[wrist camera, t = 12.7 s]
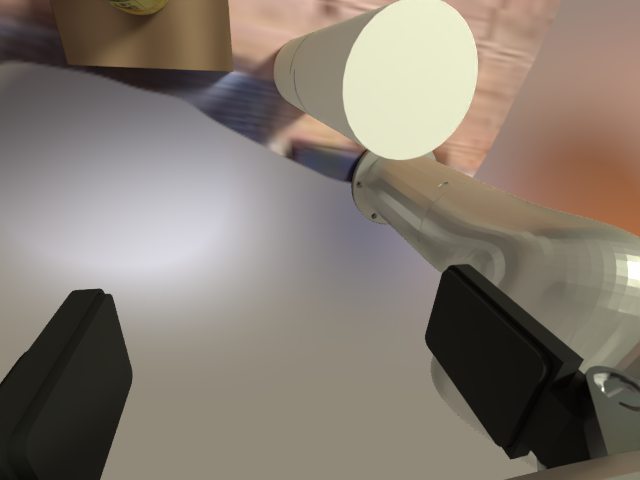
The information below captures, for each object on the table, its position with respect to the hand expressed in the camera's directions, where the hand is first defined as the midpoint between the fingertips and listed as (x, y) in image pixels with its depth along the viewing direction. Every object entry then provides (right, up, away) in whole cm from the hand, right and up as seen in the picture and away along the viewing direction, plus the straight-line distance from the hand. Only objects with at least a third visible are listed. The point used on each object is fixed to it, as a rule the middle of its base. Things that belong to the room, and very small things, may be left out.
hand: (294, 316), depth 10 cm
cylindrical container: (-1, +21, +28) cm, 35 cm away
